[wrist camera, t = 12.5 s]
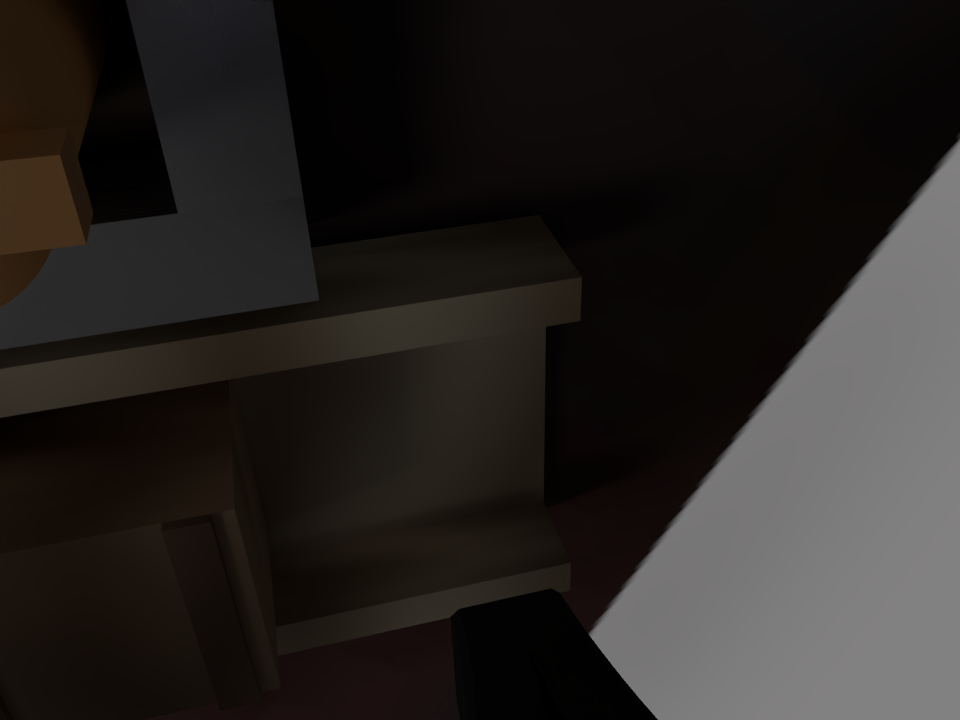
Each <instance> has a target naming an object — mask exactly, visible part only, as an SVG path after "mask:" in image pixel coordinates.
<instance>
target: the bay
mask: <svg viewBox="0 0 960 720" xmlns="http://www.w3.org/2000/svg"><path fill="white" fill-rule="evenodd" d="M311 251H312V257H313V264H314V270H315V276H316V283H317V289H318V296H319V300H318V301H312V302H305V303H299V304H292V305H286V306H280V307H273V308H267V309H260V310H254V311H247V312H241V313H234V314H228V315H221V316H215V317H208V318H202V319H195V320H189V321H182V322H176V323H169V324H163V325H156V326H150V327H143V328H137V329H130V330H124V331H117V332H111V333H104V334H98V335H92V336H85V337H79V338H72V339H66V340H59V341H53V342H46V343H40V344H33V345H27V346H20V347H14V348H7V349H1V350H0V418H2V417H8V416H14V415H20V414H26V413H32V412H38V411H44V410H50V409H56V408H62V407H68V406H74V405H80V404H86V403H92V402H98V401H104V400H110V399H116V398H122V397H128V396H134V395H140V394H146V393H152V392H158V391H164V390H170V389H176V388H182V387H188V386H194V385H200V384H206V383H212V382H218V381H224V380H230V379H232V381H233V385H234V389H235V394H236V398H237V402H238V407H239V411H240V415H241V419H242V424H243V428H244V432H245V436H246V441H247V445H248V449H249V453H250V458H251V462H252V466H253V470H254V475H255V479H256V483H257V487H258V492H259V496H260V500H261V504H262V509H263V513H264V517H265V521H266V526H267V530H268V540H269V552H270V564H271V576H272V588H273V600H274V612H275V623H276V635H277V647H278V656H279V655H283V654H288V653H292V652H297V651H301V650H305V649H310V648H314V647H319V646H323V645H328V644H332V643H337V642H341V641H346V640H350V639H355V638H359V637H364V636H368V635H373V634H377V633H381V632H386V631H390V630H395V629H399V628H404V627H408V626H413V625H417V624H422V623H426V622H431V621H435V620H440V619H444V618H449V617H451V616H452V615H453V614H454V613H455V612H456V611H457V610H458V609H461V608H465V607H470V606H474V605H479V604H483V603H488V602H492V601H497V600H501V599H506V598H510V597H515V596H519V595H524V594H528V593H532V592H537V591H541V590H546V589H550V588H552V589H554V590H556V591H557V592H559V593H560V592H565V591H569V590H570V573H571V562H570V560H569V557H568V555H567V553H566V551H565V548H564V546H563V544H562V542H561V539H560V537H559V535H558V533H557V530H556V528H555V526H554V524H553V521H552V519H551V517H550V515H549V512H548V510H547V508H546V506H545V503H544V437H545V358H546V327H547V326H553V325H559V324H565V323H571V322H577V321H580V314H581V288H582V277H581V275H580V274H579V272H578V271H577V269H576V268H575V266H574V265H573V264H572V262H571V261H570V259H569V258H568V256H567V255H566V254H565V252H564V251H563V249H562V248H561V246H560V245H559V243H558V242H557V241H556V239H555V238H554V236H553V235H552V233H551V232H550V230H549V229H548V228H547V226H546V225H545V223H544V222H543V220H542V219H541V217H540V216H539V215H535V216H528V217H521V218H514V219H507V220H500V221H493V222H486V223H479V224H472V225H465V226H458V227H452V228H445V229H438V230H431V231H424V232H417V233H410V234H403V235H396V236H389V237H382V238H375V239H368V240H361V241H354V242H347V243H340V244H333V245H326V246H319V247H312V248H311Z"/></svg>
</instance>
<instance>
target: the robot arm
mask: <svg viewBox="0 0 960 720" xmlns="http://www.w3.org/2000/svg"><path fill="white" fill-rule="evenodd" d="M451 630H452V643H453V656H454V669H455V682H456V695H457V705H458V710H459V714H460V719H461V720H657V718H656V717H655V716H654V715H653V714H652V712H651V711H650V710H649V709H648V708H647V707H646V706H645V705H644V703H643V702H642V701H641V700H640V699H639V698H638V696H637V695H636V694H635V693H634V692H633V690H632V689H631V688H630V687H629V686H628V684H627V683H626V682H625V681H624V680H623V679H622V677H621V676H620V675H619V673H618V672H617V671H616V670H615V668H614V667H613V666H612V664H611V663H610V662H609V661H608V659H607V658H606V657H605V656H604V654H603V653H602V652H601V650H600V649H599V648H598V646H597V645H596V644H595V642H594V641H593V640H592V638H591V637H590V636H589V634H588V633H587V632H586V630H585V629H584V628H583V626H582V625H581V624H580V622H579V621H578V619H577V618H576V616H575V615H574V614H573V612H572V611H571V609H570V608H569V606H568V605H567V603H566V602H565V600H564V599H563V597H562V596H561V594H560V593H559V592H557V591H556V590H554V589H552V588H550V589H546V590H541V591H537V592H532V593H528V594H524V595H519V596H515V597H510V598H506V599H501V600H497V601H492V602H488V603H483V604H479V605H474V606H470V607H465V608H461V609H458V610H457V611H456V612H455V613H454V614H453V615H452V616H451Z"/></svg>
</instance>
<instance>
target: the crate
mask: <svg viewBox="0 0 960 720" xmlns="http://www.w3.org/2000/svg"><path fill="white" fill-rule="evenodd" d="M278 688H281V683H280V671H279V659H278V647H277V635H276V623H275V612H274V600H273V588H272V576H271V564H270V552H269V540H268V530H267V526H266V521H265V517H264V513H263V509H262V504H261V500H260V496H259V492H258V487H257V483H256V479H255V475H254V470H253V466H252V462H251V458H250V453H249V449H248V445H247V441H246V436H245V432H244V428H243V424H242V419H241V415H240V411H239V407H238V402H237V398H236V394H235V389H234V385H233V381H232V379H230V380H224V381H218V382H212V383H206V384H200V385H194V386H188V387H182V388H176V389H170V390H164V391H158V392H152V393H146V394H140V395H134V396H128V397H122V398H116V399H110V400H104V401H98V402H92V403H86V404H80V405H74V406H68V407H62V408H56V409H50V410H44V411H38V412H32V413H26V414H20V415H14V416H8V417H2V418H0V720H143V719H147V718H152V717H156V716H160V715H165V714H169V713H173V712H178V711H182V710H186V709H191V708H195V707H199V706H204V705H208V704H212V703H217V702H218V705H219V708H220V710H224V709H228V708H233V707H237V706H241V705H246V704H250V703H254V702H258V701H261V692H264V691H269V690H273V689H278Z"/></svg>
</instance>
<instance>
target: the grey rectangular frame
mask: <svg viewBox="0 0 960 720" xmlns="http://www.w3.org/2000/svg"><path fill="white" fill-rule="evenodd" d="M126 3H127V8H128V12H129V16H130V20H131V24H132V28H133V32H134V36H135V40H136V44H137V48H138V52H139V56H140V61H141V65H142V69H143V73H144V77H145V81H146V85H147V89H148V93H149V97H150V101H151V105H152V109H153V114H154V118H155V122H156V126H157V130H158V134H159V138H160V142H161V146H162V147H160V148H152V149H143V150H135V151H127V152H118V153H110V154H102V155H93V156H85V157H78V160H79V164H80V167H81V171H82V174H83V178H84V181H85V185H86V188H87V192H88V195H89V199H90V202H91V206H92V209H93V216H92V221H91V225H90V230H89V235H88V239H87V244H86V245H78V246H70V247H62V248H54V249H51V251H50V253H49V255H48V258H47V260H46V262H45V264H44V265H43V267H42V268H41V270H40V271H39V273H38V275H37V276H36V277H35V278H34V279H33V281H32V282H31V283H30V284H29V285H28V286H27V287H26V288H25V289H24V290H23V291H22V292H21V293H20V294H18V295H17V296H16V297H15V298H14V299H12V300H11V301H9V302H8V303H6V304H5V305H3V306H1V307H0V350H1V349H7V348H14V347H20V346H27V345H33V344H40V343H46V342H53V341H59V340H66V339H72V338H79V337H85V336H92V335H98V334H104V333H111V332H117V331H124V330H130V329H137V328H143V327H150V326H156V325H163V324H169V323H176V322H182V321H189V320H195V319H202V318H208V317H215V316H221V315H228V314H234V313H241V312H247V311H254V310H260V309H267V308H273V307H280V306H286V305H292V304H299V303H305V302H312V301H318V300H319V296H318V289H317V283H316V276H315V270H314V264H313V257H312V251H311V244H310V238H309V231H308V225H307V219H306V212H305V206H304V199H303V193H302V187H301V180H300V174H299V167H298V161H297V155H296V148H295V142H294V135H293V129H292V123H291V116H290V110H289V103H288V97H287V91H286V84H285V78H284V71H283V65H282V59H281V52H280V46H279V39H278V33H277V27H276V20H275V14H274V7H273V1H272V0H126Z"/></svg>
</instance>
